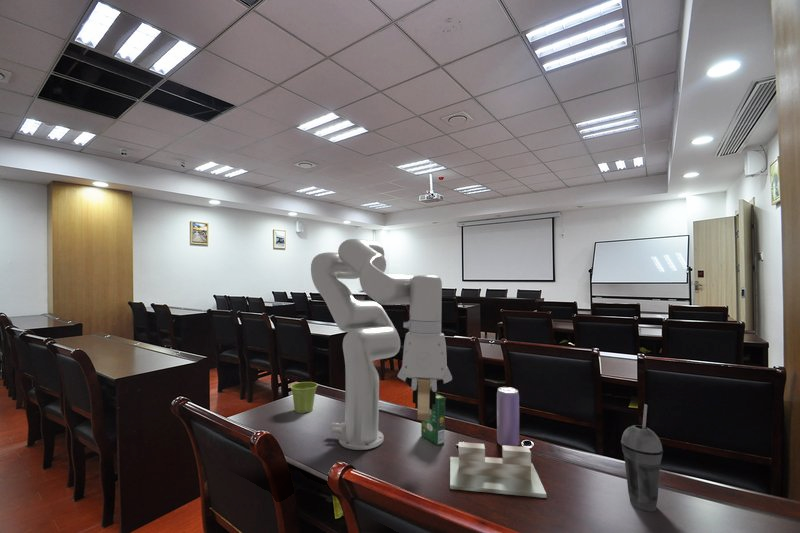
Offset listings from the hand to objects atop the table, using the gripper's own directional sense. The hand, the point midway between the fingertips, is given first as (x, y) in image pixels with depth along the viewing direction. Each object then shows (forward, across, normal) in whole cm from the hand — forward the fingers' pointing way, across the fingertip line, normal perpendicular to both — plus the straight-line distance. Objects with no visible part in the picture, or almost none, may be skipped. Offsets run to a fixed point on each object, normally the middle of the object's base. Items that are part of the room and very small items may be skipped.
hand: (424, 406), depth 83 cm
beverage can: (+16, +22, +21) cm, 34 cm away
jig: (+16, +16, +2) cm, 23 cm away
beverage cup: (+16, +45, -3) cm, 48 cm away
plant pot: (+17, -45, +36) cm, 60 cm away
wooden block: (+2, 0, +4) cm, 4 cm away
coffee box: (+16, +1, +20) cm, 26 cm away
